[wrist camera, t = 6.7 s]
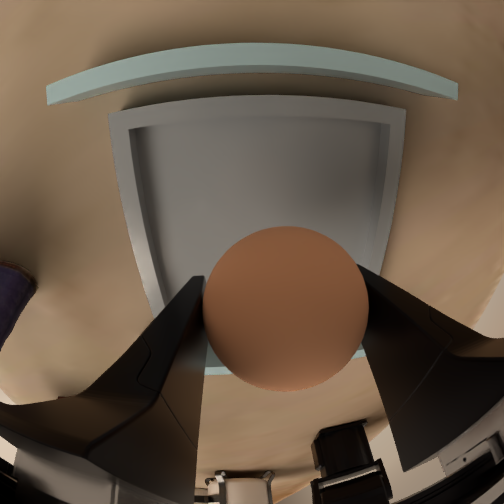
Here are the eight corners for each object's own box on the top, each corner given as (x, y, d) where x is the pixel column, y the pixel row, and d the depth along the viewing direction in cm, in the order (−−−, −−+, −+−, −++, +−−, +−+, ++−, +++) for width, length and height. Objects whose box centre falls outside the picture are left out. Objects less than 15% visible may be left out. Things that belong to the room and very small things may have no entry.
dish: (391, 107, 10) (406, 109, 9) (358, 309, 16) (364, 322, 15) (119, 112, 9) (107, 113, 8) (164, 324, 16) (161, 339, 15)
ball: (344, 199, 9) (425, 286, 5) (328, 306, 12) (366, 402, 8) (199, 205, 9) (176, 312, 5) (214, 316, 11) (213, 423, 7)
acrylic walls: (424, 80, 9) (458, 83, 7) (377, 323, 17) (391, 350, 15) (77, 85, 8) (46, 86, 6) (143, 343, 16) (136, 373, 14)
